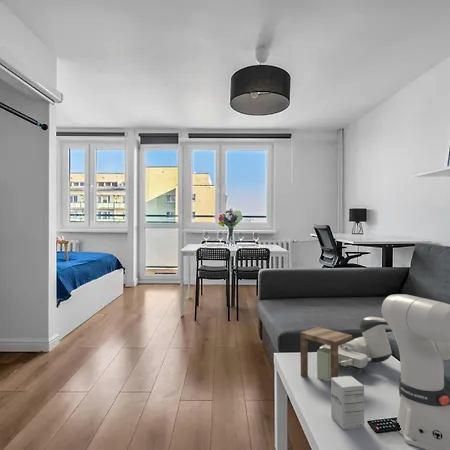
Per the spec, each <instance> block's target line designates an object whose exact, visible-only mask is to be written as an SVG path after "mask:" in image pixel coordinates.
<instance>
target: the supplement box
mask: <svg viewBox="0 0 450 450" xmlns="http://www.w3.org/2000/svg"><path fill="white" fill-rule="evenodd" d="M330 389H331V391H330V395H331V396H330V399H331V400H330V401H331V407H330V409H331V410H330V412H331V416H330V417H331V418H332V419H333V420H334V421H335V422H336V423H337V424H338V425H339V427H340V428H341V429H342V430H351V429H357V428H365V385H364V384H362V383H361V382H360V381H358V380H357V379H356V378H355V377H353V376H338V377H333V378H331V380H330Z"/></svg>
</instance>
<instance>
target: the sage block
mask: <svg viewBox="0 0 450 450" xmlns="http://www.w3.org/2000/svg"><path fill="white" fill-rule="evenodd" d="M316 367H317V368H316V369H317V370H316V372H317V373H316V375H317V376H316V377H317V378H318V379H321V380H323V381H326V382H331V349H329V348H325V347H324V348H321V349H320V348H319V349H316Z"/></svg>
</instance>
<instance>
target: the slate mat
mask: <svg viewBox="0 0 450 450" xmlns="http://www.w3.org/2000/svg"><path fill="white" fill-rule="evenodd" d="M361 372H362V370H361V369H358V368H354V367H350V366H349V365H346V366H343V365H341V363H339V362H338V376H339V377H343V376H352V377H353V376H355V375H358V374H360V373H361Z"/></svg>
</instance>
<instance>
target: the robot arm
mask: <svg viewBox="0 0 450 450" xmlns="http://www.w3.org/2000/svg"><path fill="white" fill-rule="evenodd" d="M380 311H381V316H382V317H378V316H367V317H363V318H362V319H361V321H360V323H359V326H358V327H359V329H360V332H361V334H362V336H359V337H356V338H352V341H350V342H347V343H345V344H342V345H339V346H338V363H339V362H340V364H341V365H343V366H352V367H355V368H357V369H362V368H365V367H366V366H367V365H368V364H369V362H370V363H381V362H385V361H387V360H389V359H390V358H391V356H392V354H393V352H392V351H393V350H392V349H391V348H392V347H391V344H390V341H389V339H388V335H387V332H386V330H391V332H392V333H393V336H394V339H395V341H396V343H397V347H398V352H399V358H400V359H399V360H400V361H399V362H400V378H399V381H398V393H399V397H400V399H399V400H400V401H399V408H398V414H397V418H396V421H398V423H399V425H400V428H401V430H400V431H398V433H400V434H401V436H402V437H403V440H404V441H405V443H406V444H409V445H411V446H415V447H418V448H420V449H423V450H450V391H449V389H448V388H447V387H446V386H445V375H444V360H450V304H449V303H446V302H441V301H438V300H433V299H430V298H424V297H420V296H417V295H415V296H414V295H410V294H405V293H403V294H401V293H400V294H399V293H397V294H396V293H395V294H390V295H388V296H387V297H386V298H384V300H383V302H382V304H381V310H380ZM324 347H325V348H329V349H330V346H329V345H326V344H322V345H321V346H319V349H321V348H324Z"/></svg>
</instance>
